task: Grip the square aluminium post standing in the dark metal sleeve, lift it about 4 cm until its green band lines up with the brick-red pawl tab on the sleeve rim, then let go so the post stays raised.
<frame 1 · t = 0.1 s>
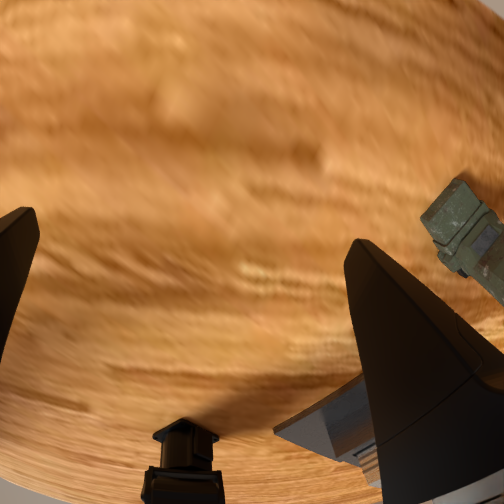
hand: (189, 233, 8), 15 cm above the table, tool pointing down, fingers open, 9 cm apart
stand base: (361, 416, 39), on the table
mechanical leg: (453, 224, 27), on the table
post: (376, 450, 33), point 6 cm above the table, slide at 0.0 cm
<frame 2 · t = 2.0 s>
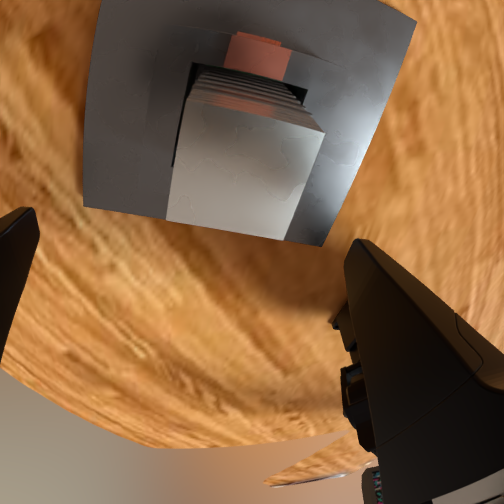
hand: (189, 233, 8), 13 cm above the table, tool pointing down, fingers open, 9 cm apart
stand base: (234, 98, 18), on the table
post: (236, 128, 13), point 6 cm above the table, slide at 0.0 cm
computer monitor: (430, 401, 56), on the table
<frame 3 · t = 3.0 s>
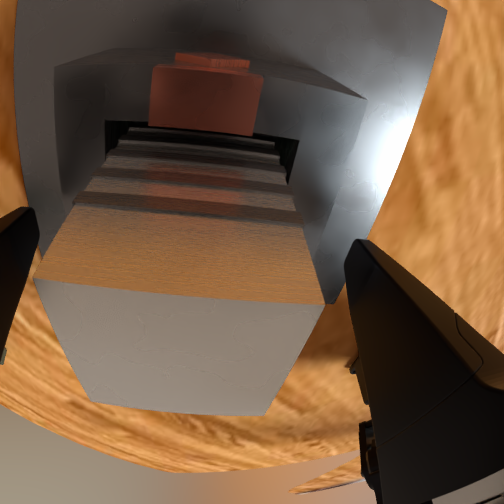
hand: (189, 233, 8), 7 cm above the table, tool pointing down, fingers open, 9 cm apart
stand base: (204, 137, 14), on the table
post: (191, 213, 9), point 6 cm above the table, slide at 0.0 cm
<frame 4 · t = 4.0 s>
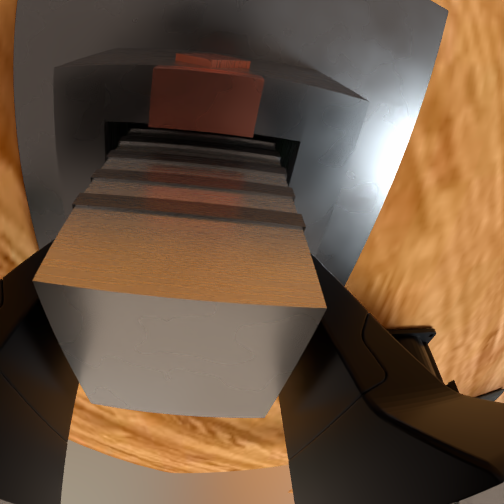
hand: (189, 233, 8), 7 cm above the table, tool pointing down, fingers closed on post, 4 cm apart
stand base: (204, 138, 14), on the table
post: (191, 214, 9), point 6 cm above the table, slide at 0.0 cm, touching gripper
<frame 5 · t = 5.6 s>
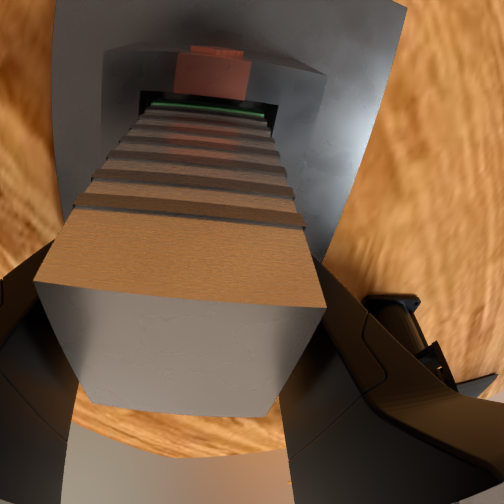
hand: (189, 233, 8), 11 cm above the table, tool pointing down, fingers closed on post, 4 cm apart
stand base: (208, 115, 16), on the table
post: (191, 214, 9), point 10 cm above the table, slide at 3.8 cm, touching gripper
computer monitor: (450, 397, 53), on the table
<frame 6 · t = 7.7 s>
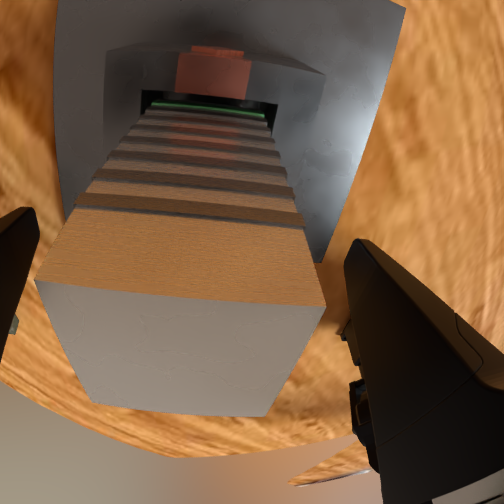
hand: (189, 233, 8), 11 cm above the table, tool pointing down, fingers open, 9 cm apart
stand base: (209, 114, 17), on the table
post: (192, 214, 9), point 10 cm above the table, slide at 3.9 cm
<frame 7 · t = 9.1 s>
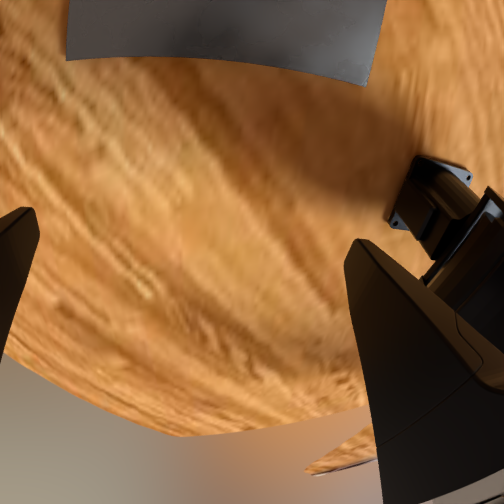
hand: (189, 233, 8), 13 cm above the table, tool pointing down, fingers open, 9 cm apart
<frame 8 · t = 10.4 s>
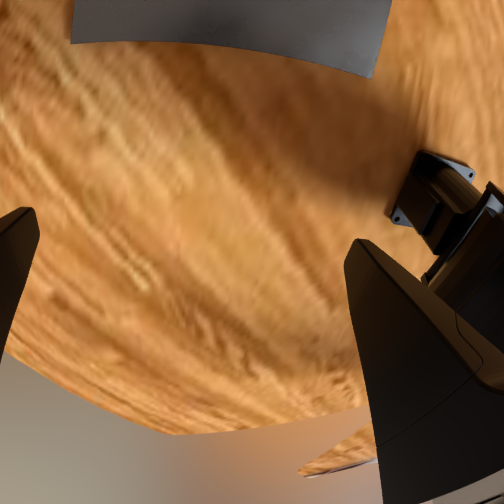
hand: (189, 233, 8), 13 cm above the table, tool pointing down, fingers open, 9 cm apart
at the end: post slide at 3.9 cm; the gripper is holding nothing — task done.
